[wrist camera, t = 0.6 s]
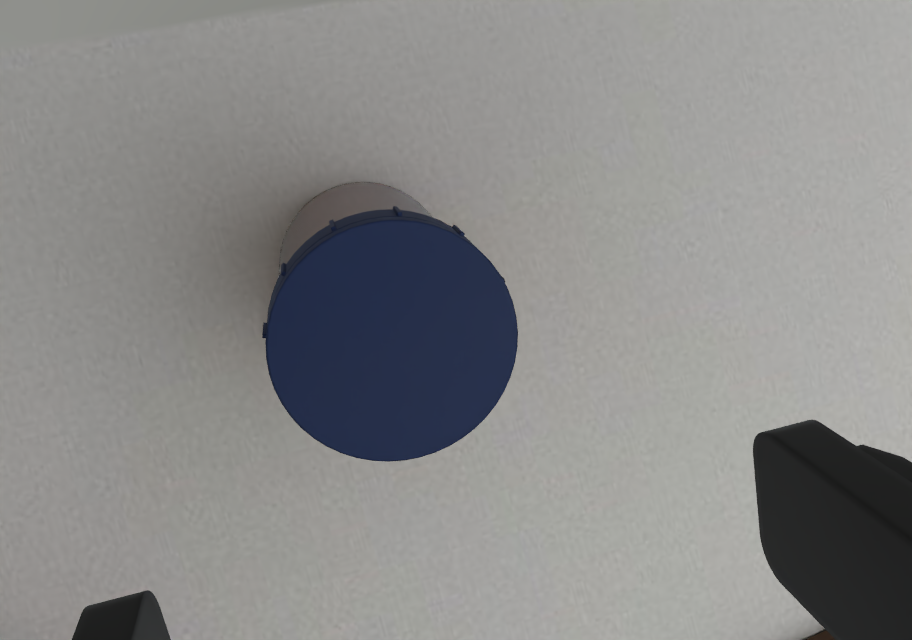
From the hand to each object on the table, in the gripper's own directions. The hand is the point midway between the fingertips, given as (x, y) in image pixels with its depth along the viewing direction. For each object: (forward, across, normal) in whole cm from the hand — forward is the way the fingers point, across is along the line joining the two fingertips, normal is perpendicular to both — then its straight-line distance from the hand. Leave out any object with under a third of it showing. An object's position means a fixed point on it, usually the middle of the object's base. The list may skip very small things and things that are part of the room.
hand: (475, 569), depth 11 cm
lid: (+10, 0, 0) cm, 10 cm away
